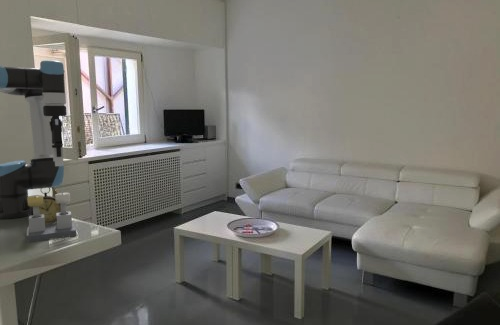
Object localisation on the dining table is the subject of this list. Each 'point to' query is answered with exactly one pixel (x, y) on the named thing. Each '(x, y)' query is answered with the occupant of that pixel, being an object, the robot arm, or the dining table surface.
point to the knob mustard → (35, 204)
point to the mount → (50, 228)
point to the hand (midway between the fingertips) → (58, 163)
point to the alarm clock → (48, 208)
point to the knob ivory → (62, 201)
